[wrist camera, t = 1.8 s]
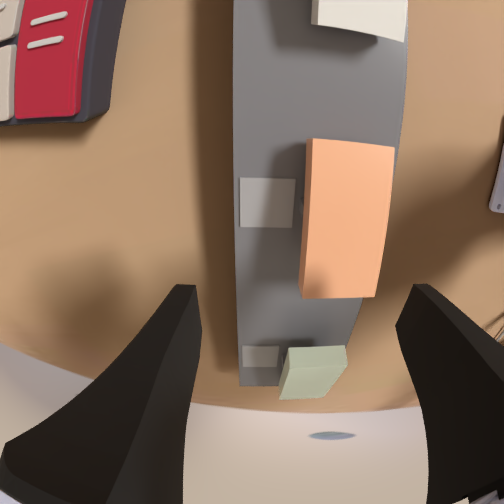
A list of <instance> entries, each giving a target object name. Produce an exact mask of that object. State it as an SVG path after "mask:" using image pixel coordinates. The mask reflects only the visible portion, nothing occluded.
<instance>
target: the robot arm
mask: <svg viewBox="0 0 504 504" xmlns="http://www.w3.org/2000/svg"><path fill="white" fill-rule="evenodd" d="M489 208H490V210H492V211H493V212H499V213H504V145H503V150H502V155H501V160H500V164H499V169H498V173H497V177H496V181H495V185H494V189H493V192H492V196H491V199H490V203H489ZM395 327H396V331H397V336H398V340H399V344H400V348H401V351H402V354H403V357H404V360H405V362H406V365H407V368H408V371H409V373H410V376H411V379H412V382H413V384H414V387H415V390H416V393H417V396H418V399H419V402H420V406H421V409H422V414H423V419H424V425H425V430H426V438H427V448H428V465H429V466H428V467H429V477H428V494H427V502H426V504H453V503H456V502H458V501H461V500H463V499H465V498H467V497H468V500H469V504H504V346H502V345H501V344H500V343H499V342H497V341H496V340H495V339H494V338H492V337H491V336H490V335H489V334H488V333H486V332H485V331H484V330H483V329H482V328H480V327H479V326H478V325H477V324H476V323H475V322H473V321H472V320H471V319H470V318H469V317H468V316H467V315H465V314H464V313H463V312H462V311H461V310H460V309H458V308H457V307H456V306H455V305H454V304H453V303H452V302H450V301H449V300H448V299H447V298H446V297H444V296H443V295H442V294H441V293H439V292H438V291H437V290H436V289H434V288H433V287H431V286H430V285H428V284H413V287H412V289H411V291H410V294H409V296H408V299H407V301H406V303H405V305H404V308H403V310H402V312H401V314H400V317H399V319H398V321H397V323H396V325H395ZM201 336H202V327H201V320H200V313H199V306H198V299H197V291H196V285H183V284H176V285H175V286H174V287H173V288H172V290H171V291H170V292H169V294H168V295H167V297H166V298H165V299H164V301H163V302H162V303H161V305H160V306H159V307H158V309H157V310H156V311H155V313H154V314H153V315H152V317H151V318H150V319H149V320H148V322H147V323H146V324H145V325H144V327H143V328H142V329H141V330H140V332H139V333H138V334H137V335H136V337H135V338H134V339H133V340H132V341H131V342H130V343H129V345H128V346H127V347H126V348H125V349H124V350H123V351H122V353H121V354H120V355H119V356H118V357H117V358H116V359H115V360H114V361H113V362H112V363H111V364H110V365H109V366H108V368H107V369H106V370H105V371H103V372H102V373H101V374H100V375H99V376H98V377H97V378H96V379H95V380H94V381H93V382H92V383H91V384H90V385H89V386H88V387H86V388H85V389H84V390H83V391H82V392H81V393H80V394H78V395H77V396H76V397H75V398H74V399H73V400H71V401H70V402H69V403H67V404H66V405H65V406H63V407H62V408H61V409H59V410H58V411H57V412H55V413H54V414H52V415H51V416H50V417H48V418H47V419H45V420H44V421H42V422H41V423H39V424H38V425H36V426H35V427H33V428H31V429H30V430H28V431H26V432H25V433H23V434H21V435H19V436H18V437H16V438H14V439H12V440H10V441H8V442H7V443H5V446H4V449H3V452H2V455H1V458H0V504H183V464H184V463H183V462H184V445H185V432H186V424H187V417H188V412H189V407H190V402H191V397H192V392H193V387H194V382H195V377H196V372H197V368H198V363H199V357H200V347H201Z"/></svg>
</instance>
